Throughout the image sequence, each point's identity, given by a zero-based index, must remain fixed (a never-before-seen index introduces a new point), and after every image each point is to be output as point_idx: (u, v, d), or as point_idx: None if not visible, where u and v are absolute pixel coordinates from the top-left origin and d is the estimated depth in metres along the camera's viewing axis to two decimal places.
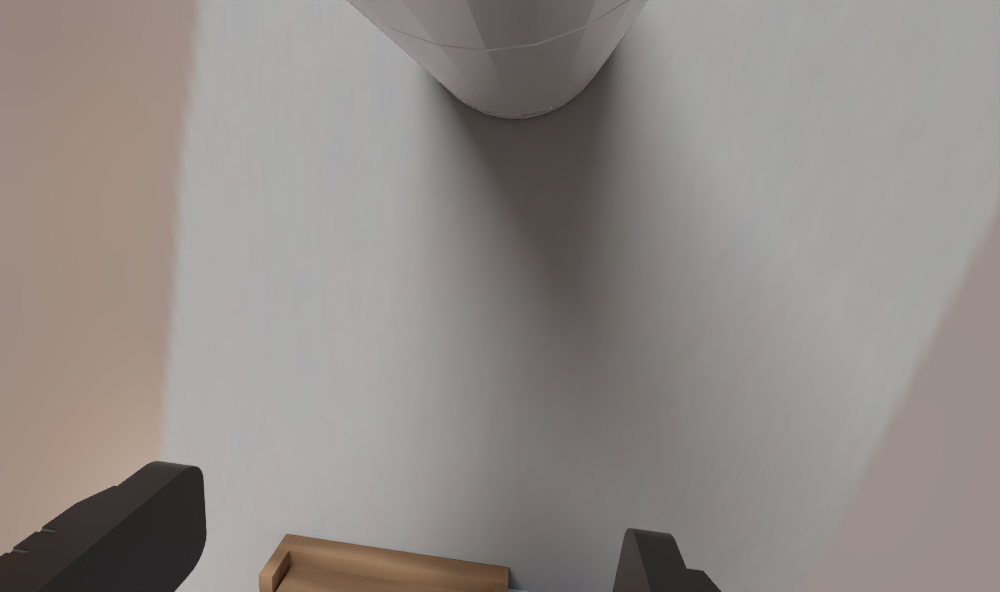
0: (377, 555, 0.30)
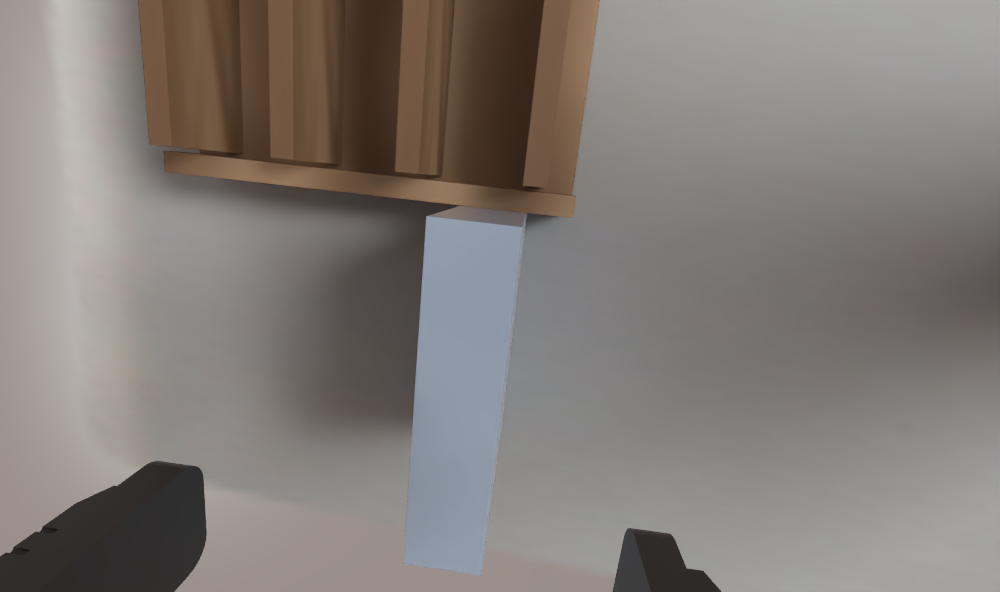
0: None
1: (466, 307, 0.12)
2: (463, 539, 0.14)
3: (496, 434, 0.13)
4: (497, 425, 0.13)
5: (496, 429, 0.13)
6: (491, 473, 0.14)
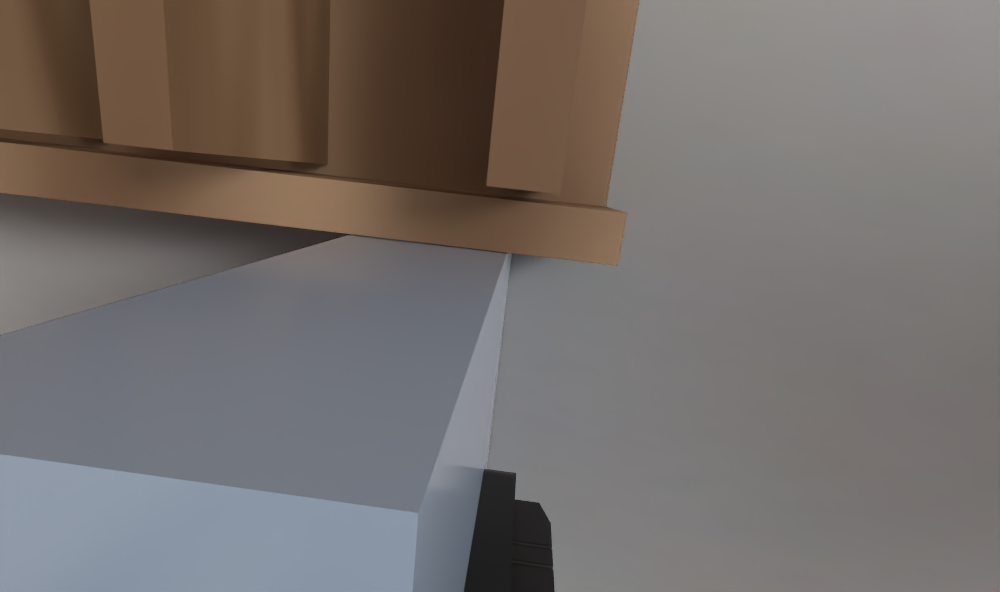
0: None
1: None
2: None
3: None
4: None
5: None
6: None
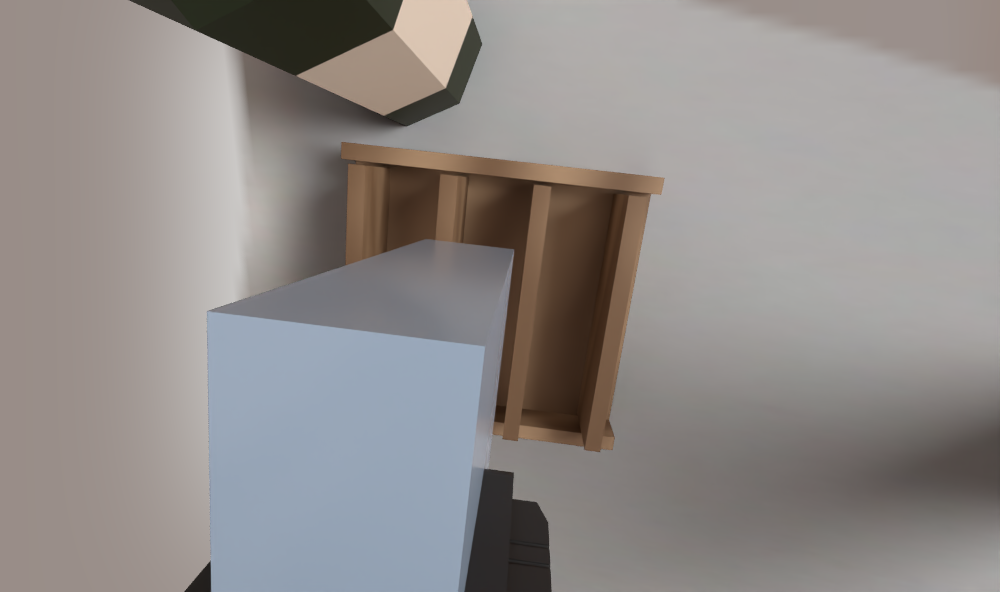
0: None
1: (333, 554, 0.04)
2: None
3: None
4: None
5: None
6: None
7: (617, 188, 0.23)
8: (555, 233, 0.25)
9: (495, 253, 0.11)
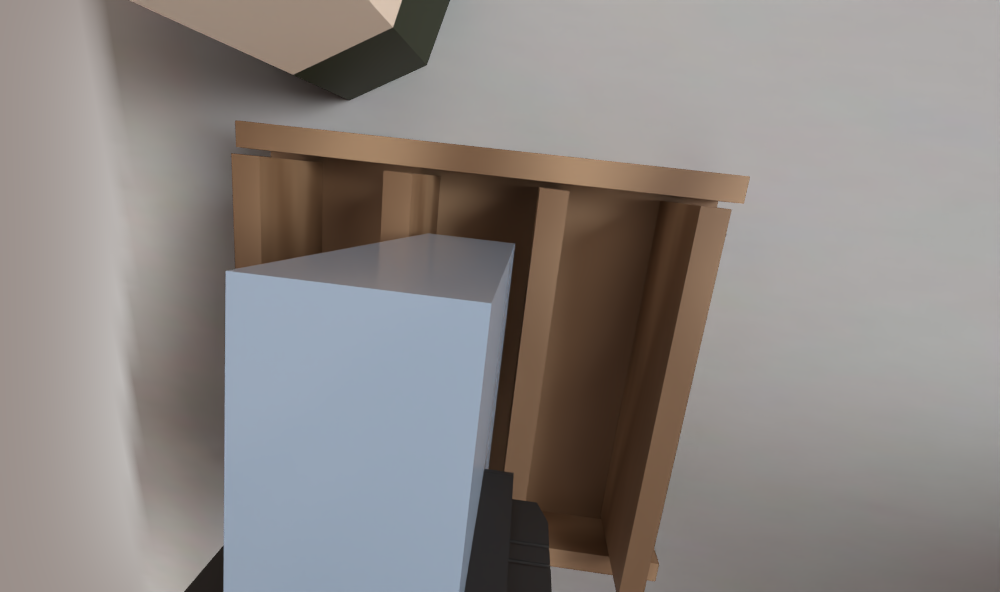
0: None
1: (343, 509, 0.05)
2: None
3: None
4: None
5: None
6: None
7: (672, 193, 0.14)
8: (571, 260, 0.17)
9: (497, 245, 0.12)
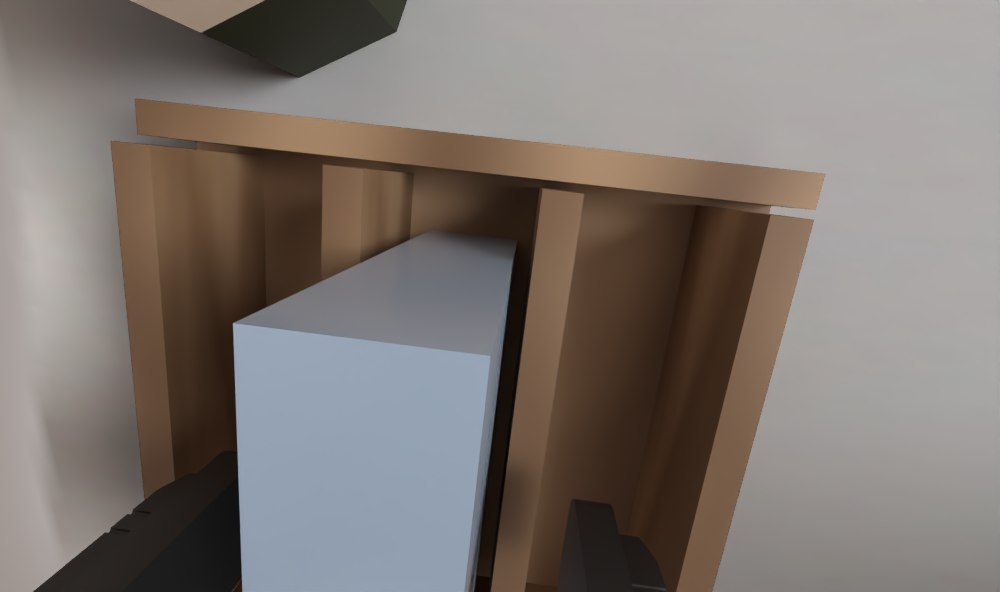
0: None
1: (352, 540, 0.05)
2: None
3: None
4: None
5: None
6: None
7: (720, 196, 0.10)
8: (580, 281, 0.13)
9: (499, 245, 0.12)
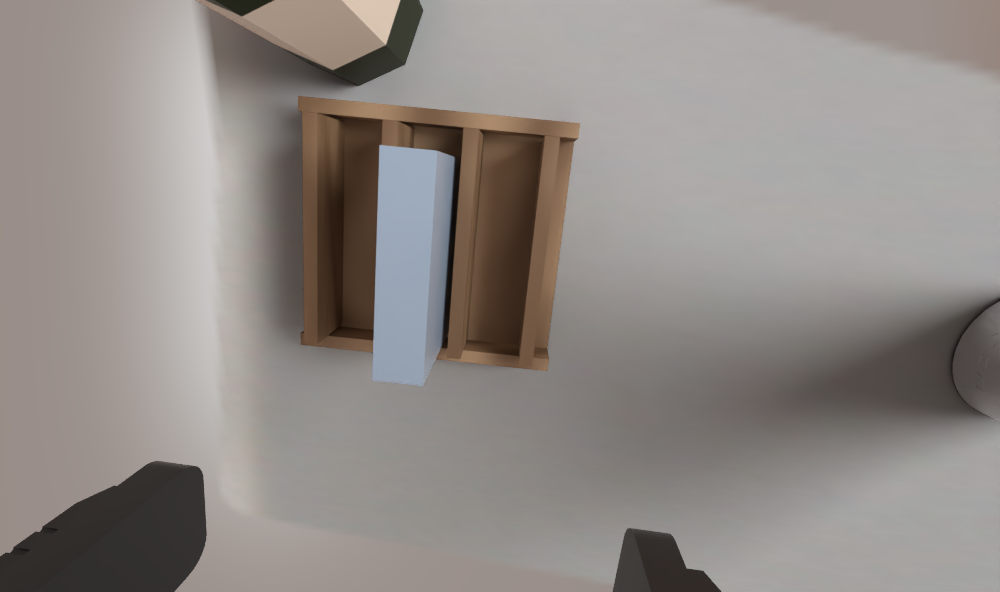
0: None
1: (405, 202, 0.20)
2: (410, 360, 0.22)
3: (428, 286, 0.21)
4: (428, 280, 0.21)
5: (428, 283, 0.21)
6: (426, 313, 0.21)
7: (540, 133, 0.26)
8: (492, 179, 0.29)
9: None
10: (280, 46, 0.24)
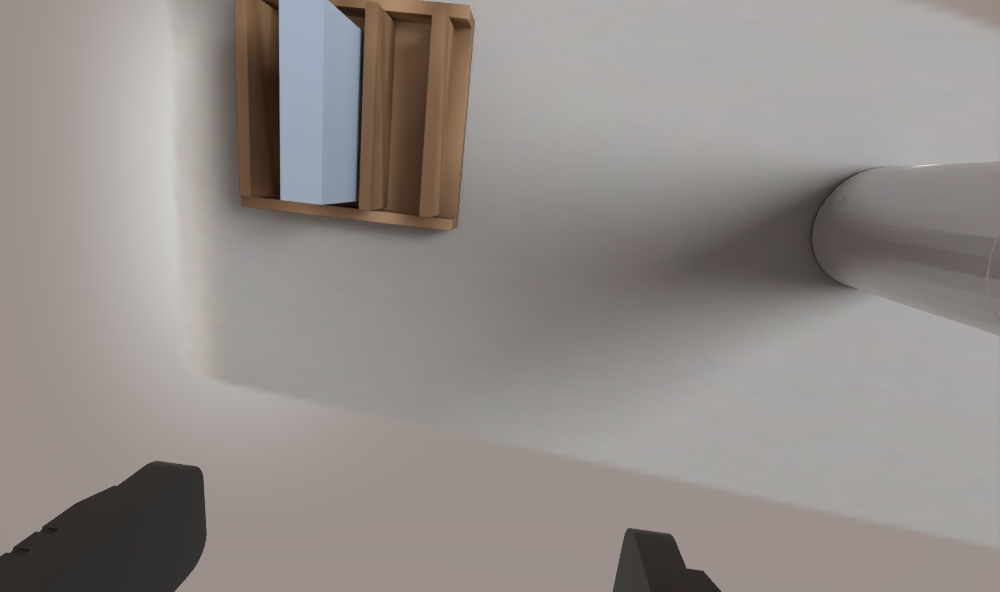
0: (465, 113, 0.35)
1: (301, 41, 0.25)
2: (310, 181, 0.27)
3: (322, 115, 0.26)
4: (322, 109, 0.26)
5: (322, 112, 0.26)
6: (321, 139, 0.26)
7: None
8: (404, 62, 0.33)
9: None
10: None
